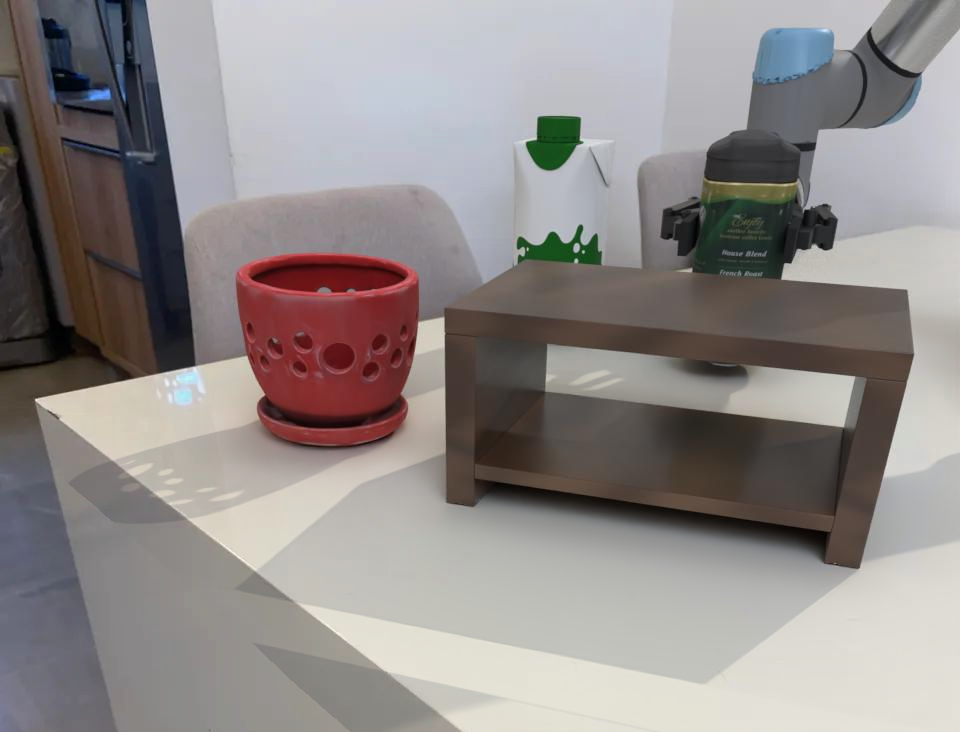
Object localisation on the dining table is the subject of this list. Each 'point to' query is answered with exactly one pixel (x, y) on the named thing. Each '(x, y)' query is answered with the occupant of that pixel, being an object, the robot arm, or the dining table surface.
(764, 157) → the coffee jar
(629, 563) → the dining table surface
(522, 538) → the dining table surface
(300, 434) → the flower pot
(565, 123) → the milk carton
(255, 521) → the dining table surface
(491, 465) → the shelf
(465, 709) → the dining table surface
